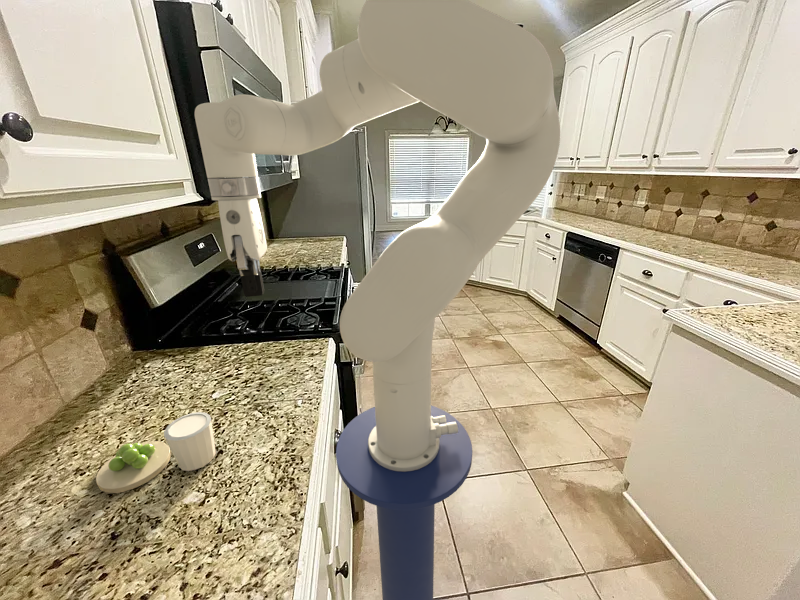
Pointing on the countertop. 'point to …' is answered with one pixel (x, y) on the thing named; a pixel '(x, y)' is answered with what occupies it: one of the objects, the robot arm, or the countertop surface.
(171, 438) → the white ramekin
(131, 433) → the countertop surface
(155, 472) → the grape dish
